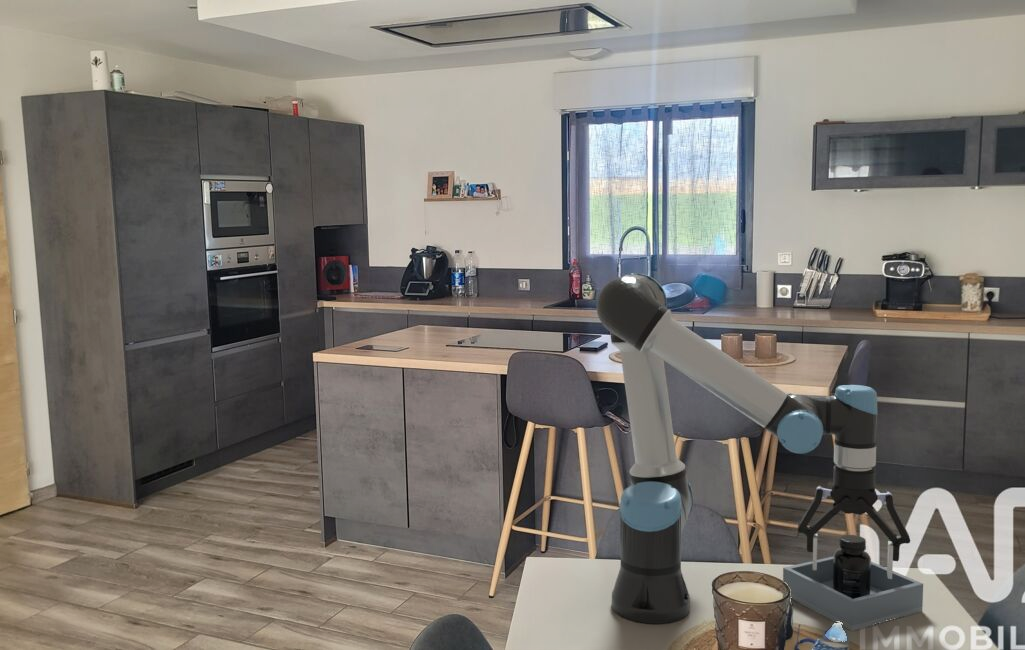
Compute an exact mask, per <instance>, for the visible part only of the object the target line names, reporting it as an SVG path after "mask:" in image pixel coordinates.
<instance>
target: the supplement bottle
mask: <svg viewBox="0 0 1025 650" xmlns="http://www.w3.org/2000/svg"><path fill="white" fill-rule="evenodd" d="M866 540H867V539H866V538H865V537H864V536H863V537H862V536H859V535H854V534H843V535H840V536H839V540H838V541H839V542H838V549H836V550H835V552H834V553H833V556H834V561H833V589H834V590H836V591H838V592H840V593H842V594H844V595H846V596H848V597H850V598H852V599H855V598H859V597H863V596H867V595H870V583H871V562H872V558H871V556H870V554H869V553H868V552H867V551H866V550H867V546H866V543H867V541H866Z"/></svg>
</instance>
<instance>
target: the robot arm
mask: <svg viewBox="0 0 1025 650" xmlns="http://www.w3.org/2000/svg"><path fill="white" fill-rule="evenodd" d="M667 299H668V298H667V295H666V292H665V289H664V287H663V286H662V285H661V284H660V282H658V281H657V280H656V279H655V278H653V277H652V276H650V275H647V274H644V273H630V274H625V275H623V276H620V277H616V278H614V279H611V280H610V281H609V282H607V283H606V284H604V286H603V287H602V288H601V289H600V291H599V293H598V296H597V299H596V315H597V316H598V319H599V321H600V323H601V324H602V326H604V327H605V329H606V330H607V331H609V335H610V341H611V344H612V345H613V346H614V347H616V349H618V350H619V352H620V359H621V361H620V362H621V367H622V373H623V382H624V387H625V395H626V403H627V410H628V412H627V413H628V416H629V417H628V418H629V426H630V433H631V438H632V439H631V440H632V447H633V455H634V461H635V462H634V464H633V465H632V467H631V468H630V469H629V472H628V473H629V478H630V479H629V481H630V485H629V486H628V487H626V488H625V489H624V490H623V491H622V493H621V496H620V502H619V507H618V509H619V515H620V516H619V519H620V520H619V523H620V529H619V531H620V534H619V535H620V538H619V539H620V546H619V547H620V549H619V550H620V567H619V570H618V574H617V577H616V580H615V583H614V587H613V589H612V591H611V608H612V609H613V612H615V613H616V614H618V615H619V616H620V617H623V618H625V619H627V620H630V621H633V622H638V623H644V624H665V623H666V624H668V623H672V622H675V621H679V620H681V619H684V618H685V617H686V616H687V615H689V612H690V610H691V599H690V598H691V597H690V594H689V590H688V588H687V584H686V582H685V577H684V575H683V572H682V534H683V533H682V532H683V530H684V527H685V524H686V523H687V520H688V519H689V517H690V515H691V513H692V511H693V506H694V492H693V489H692V486H691V483H690V482H689V481H688V476H687V469H686V465H685V463H684V462H682V461H681V460H680V459H678V456H677V449H676V441H675V435H674V428H673V422H672V421H673V420H672V413H671V406H670V405H671V404H670V399H669V397H670V396H669V389H668V383H667V376H666V368H665V363H666V364H668V365H670V366H672V368H674V369H676V370H678V372H680V373H682V374H683V375H685V376H686V377H688V378H689V379H691V380H692V381H694V382H695V383H696V384H698V386H699V385H700V386H701V387H702V388H704V389H705V390H707V391H708V392H710V393H711V394H712V395H714V396H716V397H717V398H719V399H720V400H722V401H724V402H725V403H726V404H727V405H729V406H731V407H732V408H734V409H735V410H737V411H738V412H740V413H741V414H742V415H744V416H745V417H747V418H748V419H749V420H751V421H753V422H755V423H756V424H757V425H759V426H760V427H762V428H763V429H765V430H766V431H767V432H769V433H770V434H772V435H773V436H775V437H776V438H777V439H778V442H779V443H780V444H781V445H782V447H783V448H785V449H786V450H788V451H789V452H791V453H793V454H794V453H795V454H807V453H810V452H812V451H813V450H815V449H816V448H817V447H818V446H819V444H820V442H821V441H822V437H823V435H827V436H829V435H832V436H833V435H834V438H833V441H834V442H833V463H834V465H833V474H832V475H833V481H832V483H833V484H832V485H833V486H832V488H831V489H829V488H824V487H823V486H822V485H817V486H816V488H815V496H814V497H813V499H812V501H811V502H810V504H809V505H808V507H807V509H806V512H805V513H804V514H803V516H802V518H801V519H800V521H799V523H798V525H797V532H798V533H799V534H804V535H805V536H806V551H807V552H808V553H812V561H813V570H817V560H818V532H819V531H820V530H821V529H822V528H823V527H824V526H825V525H827V524H828V522H830V521H831V520H832V519H833V517H835V516H837V515H838V514H839V513H841V512H843V513H844V514H849V515H850V514H855V515H859V516H862V515H863V514H867V515H868V516H869V518H870V519H872V520H873V522H874V523H875V524H876V525H877V526H878V528H879V529H880V530H881V532H883V533H884V535H885V536H886V537H887V538H888V540H887V555H886V556H887V560H886V561H887V562H886V568H887V577H888V579H892V571H893V569H894V568H893V562H899V560H900V546H901V545H903V544H908V545H909V544H910V543H911V539H910V538H911V537H910V535H909V532H908V531H907V529H906V526H905V525H904V523H903V521H902V519H901V517H900V514H899V513H898V511H897V508H896V507H895V505H894V499H893V498H894V497H893V494H892V492H891V491H890V490H887V491H885V492H877V491H876V469H875V468H874V467H876V465H877V433H878V414H879V413H878V394H877V391H876V390H875V389H874V388H873V387H870V386H866V385H860V384H846V385H845V384H842V385H838V386H837V387H836V388H835V392H834V395H817V394H815V395H814V394H800V393H799V394H795V393H789V392H787V393H786V392H784V391H783V390H781V389H780V388H778V387H777V386H776V385H774V384H772V383H771V382H769V380H767V379H765V378H763V377H761V375H759V374H757V373H756V372H754V371H753V370H751V369H750V368H748V367H747V366H745V365H743V364H742V363H741V362H739V361H738V360H737V359H735V358H733V357H732V356H730V355H729V354H727V353H726V352H723V351H722V350H721V349H719V348H718V347H716V346H715V345H714V344H712V343H711V342H709V341H707V339H705V338H703V337H701V336H700V335H698V334H697V333H695V332H694V331H692V330H691V329H689V328H688V327H686V326H685V325H683V324H682V323H680V322H679V321H678V320H676V319H674V317H673V316H672V310H671V309H669V308H668V306H667V305H668V304H667V303H668V300H667ZM828 496H829V497H831V499H832V500H833V502H832V504H831V505H830V506H829V508H828V509H826V510H825V512H823V513H822V514H821V515H820V516H819V517H818V518H817V519H816V520H815V521H814V522H813V523H812V524H811V525H809V523H810V522H811V520H812V519H813V517H814V515H815V513H816V512H817V510H818V508H819V507H820V505H821V503H822V501H823V500H827V497H828ZM877 501H880V502H881V504H882V505H883V506H886V509H887V512H888V513H889V515H890V518H891V520H892V521H893V523H894V525H895V527H896V529H897V531H898V533H899V535H897V534H896V532H895V531H894V530H893V529H892V528H891V526H890V525H889V524H888V523H887V522H886V521H885V519H884V518H883V517H882V516H881V515H880V513H878V511H877V510H876V508H875V507H874V504H875V503H876V502H877ZM808 525H809V526H808Z"/></svg>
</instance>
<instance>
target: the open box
mask: <svg viewBox="0 0 1025 650" xmlns="http://www.w3.org/2000/svg"><path fill="white" fill-rule="evenodd" d="M833 561H834V555H833V556H829V557H823V558H820V559H817V570H813V560H812V561H807V562H802V563H798V564H793V565H790V566H785V567H783V568H782V582H783V581H784V582H786V583H787V584H788V586H789V587H790V589H791V597H792V599H791V600H793V601H795V602H797V603H799V604H800V605H802V606H805V607H806V608H808V609H810V610H811V611H814V612H816V613H817V614H819V615H821V616H823V617H825V618H828V620H831V621H832V622H834V623H836V622H835V621H840V622H842V623H843V626H842V627H843V628H845V629H848V630H850V631H852V632H854V631H857V630H861V628H862V629H864V627H865V628H869V627H872V626H874V625H873V624H875V623H879V622H883V621H886V620H890V619H894V618H897V619H899V618H898V617H901V618H903V617H902V616H904V617H907V616H906V615H908V616H911V614H912V615H915V614H919V613H922V612H923V604H924V603H923V602H924V601H923V600H924V599H923V598H924V583H922V582H921V581H920V582H919V581H918V580H915V579H913V578H911V577H909V576H906V575H903V574H901V573H899V572H896V571H894V570H892V579H888V577H887V567H885V566H882V565H880V564H877V563H875V562H873V561H871V583H870V595H867V596H863V597H859V598H855V599H852V598H850V597H848V596H846V595H844V594H842V593H840V592H838V591H836V590H834V589H833ZM894 620H895V619H894ZM890 621H891V620H890ZM883 623H884V622H883ZM879 624H880V623H879ZM871 625H872V626H871ZM868 626H869V627H868Z"/></svg>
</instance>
